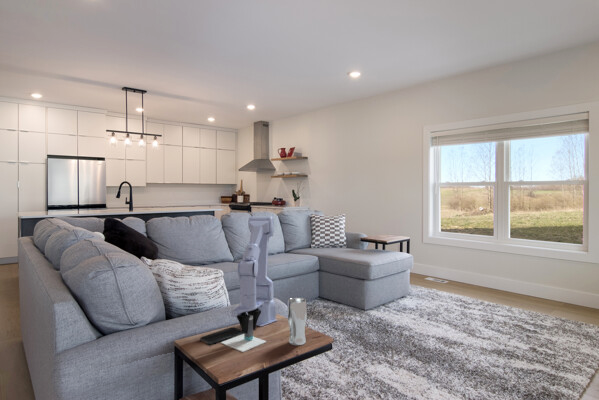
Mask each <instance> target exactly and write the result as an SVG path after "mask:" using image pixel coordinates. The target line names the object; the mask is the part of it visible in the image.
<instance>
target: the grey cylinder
mask: <svg viewBox="0 0 599 400" xmlns="http://www.w3.org/2000/svg"><path fill="white" fill-rule="evenodd" d="M253 337H254V331H253V315H250V318H249V322H248V333H247V334H245V333H244V339H246V340H251V339H253Z"/></svg>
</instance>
